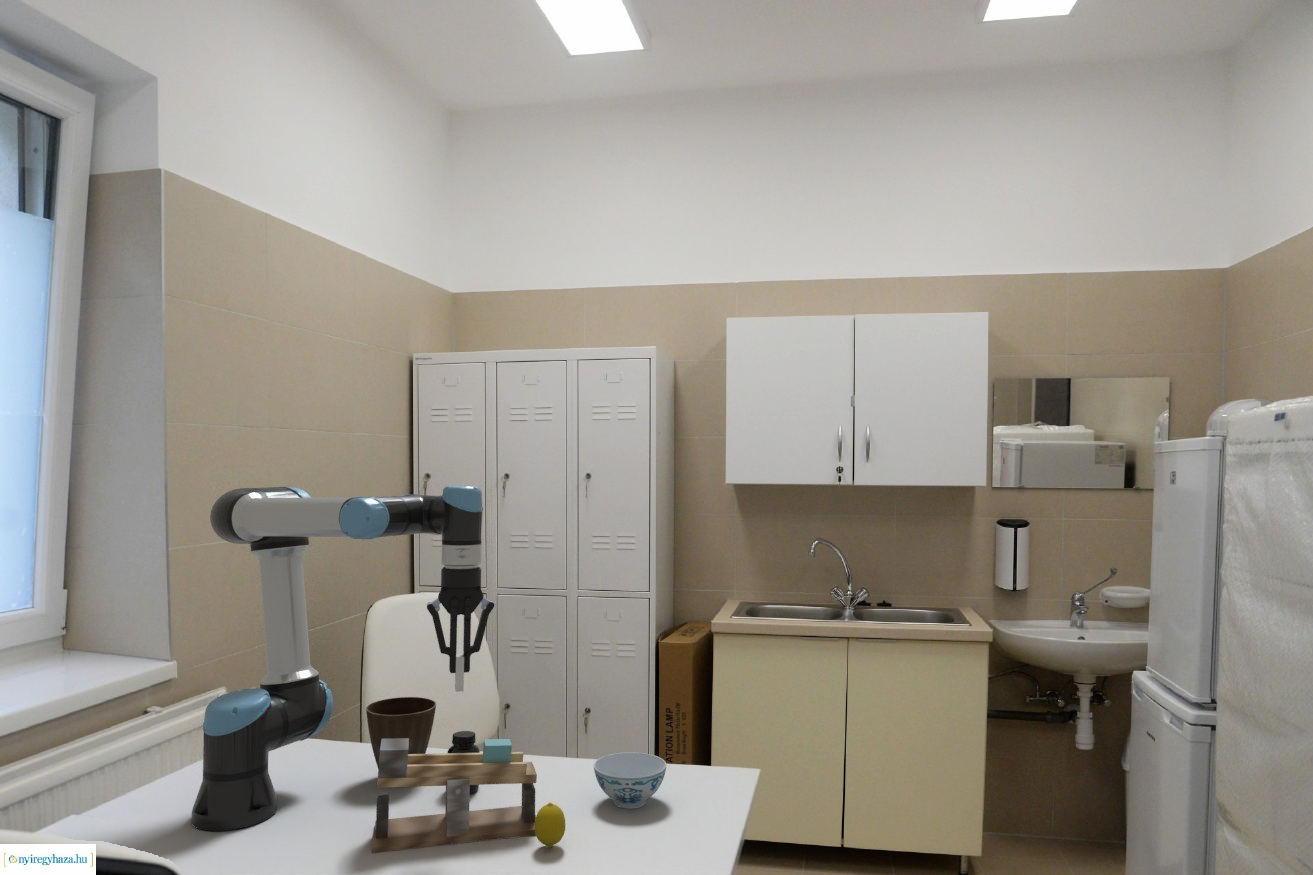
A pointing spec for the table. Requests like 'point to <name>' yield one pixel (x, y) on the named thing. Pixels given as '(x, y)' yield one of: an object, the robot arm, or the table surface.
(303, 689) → the robot arm
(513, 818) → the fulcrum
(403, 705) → the plant pot
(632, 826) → the table surface
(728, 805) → the table surface
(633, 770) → the chinaware
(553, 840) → the lemon
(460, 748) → the supplement bottle
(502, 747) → the block
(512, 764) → the beam
